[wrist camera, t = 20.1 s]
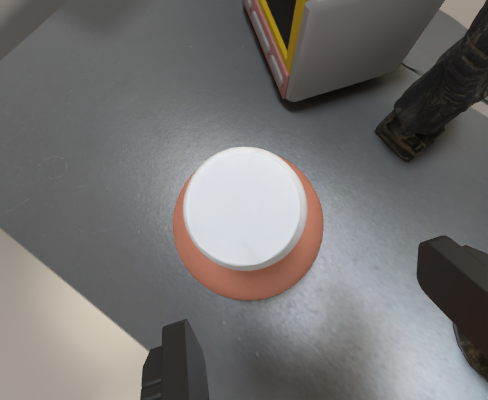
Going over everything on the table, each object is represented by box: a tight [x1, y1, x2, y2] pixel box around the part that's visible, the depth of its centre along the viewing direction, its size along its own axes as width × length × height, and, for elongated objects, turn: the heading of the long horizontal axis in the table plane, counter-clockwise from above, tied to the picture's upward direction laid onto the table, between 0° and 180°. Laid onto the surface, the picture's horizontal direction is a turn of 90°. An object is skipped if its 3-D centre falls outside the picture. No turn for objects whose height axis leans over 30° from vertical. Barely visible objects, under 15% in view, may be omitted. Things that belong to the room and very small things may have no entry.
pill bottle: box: [183, 147, 307, 271], centre depth 18 cm, size 6×6×11 cm
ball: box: [173, 156, 323, 300], centre depth 31 cm, size 14×14×15 cm
